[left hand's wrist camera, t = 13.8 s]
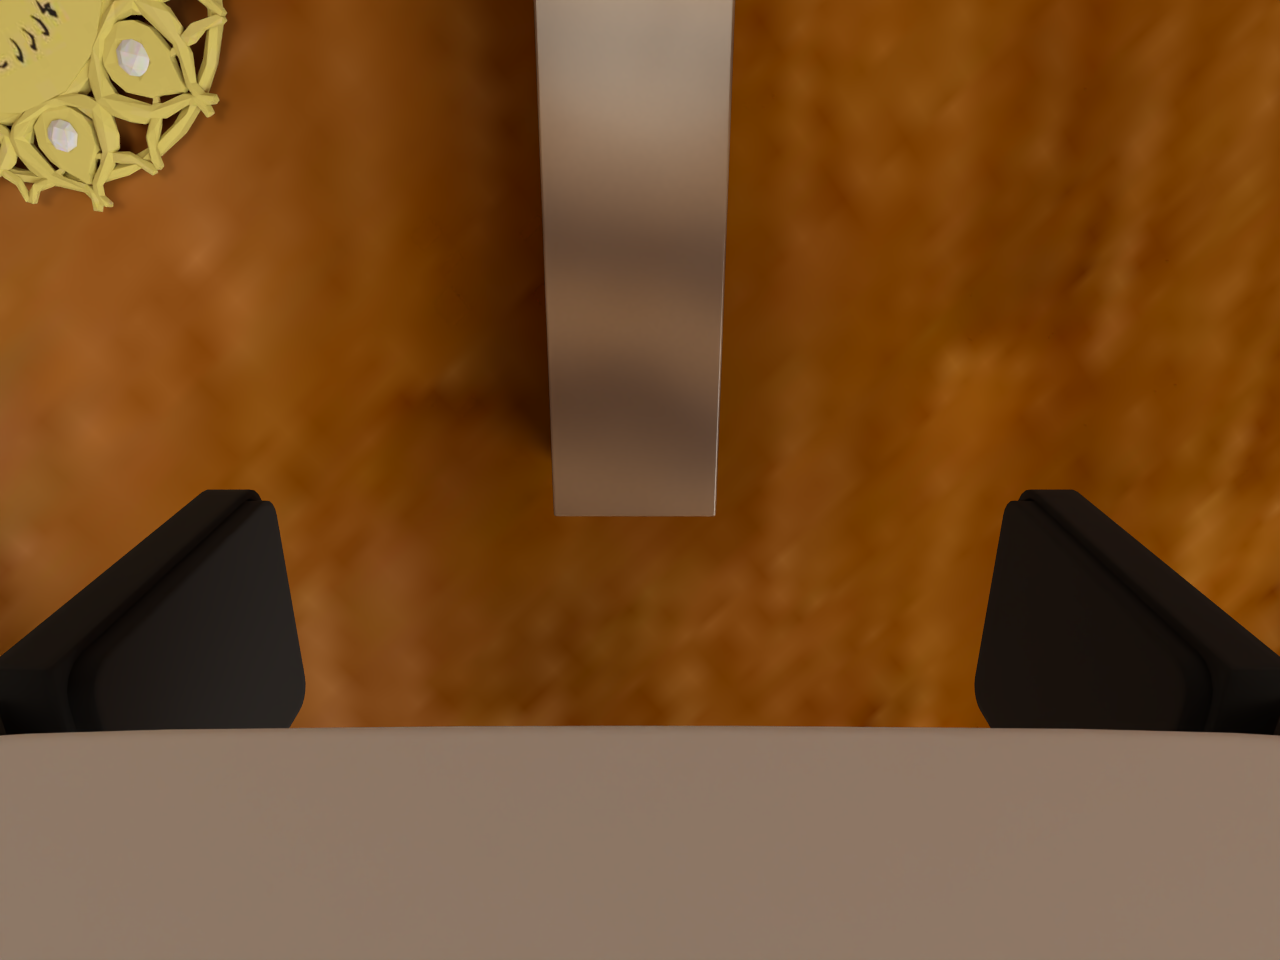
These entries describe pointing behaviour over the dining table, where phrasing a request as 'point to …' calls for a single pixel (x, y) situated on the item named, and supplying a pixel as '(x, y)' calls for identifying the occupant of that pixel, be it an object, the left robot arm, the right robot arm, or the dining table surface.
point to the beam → (634, 248)
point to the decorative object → (96, 88)
